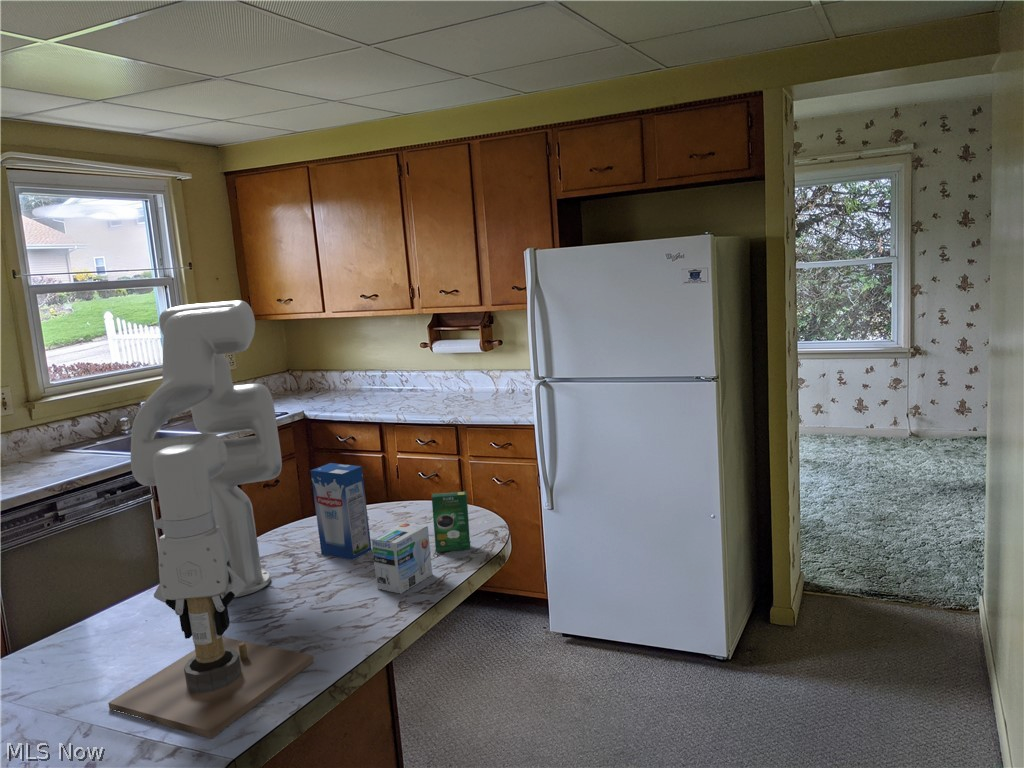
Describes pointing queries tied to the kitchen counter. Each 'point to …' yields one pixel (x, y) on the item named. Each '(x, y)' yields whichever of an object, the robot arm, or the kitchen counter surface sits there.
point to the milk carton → (341, 510)
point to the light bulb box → (402, 557)
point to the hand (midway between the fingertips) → (206, 631)
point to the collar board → (211, 704)
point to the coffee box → (451, 521)
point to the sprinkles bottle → (204, 630)
